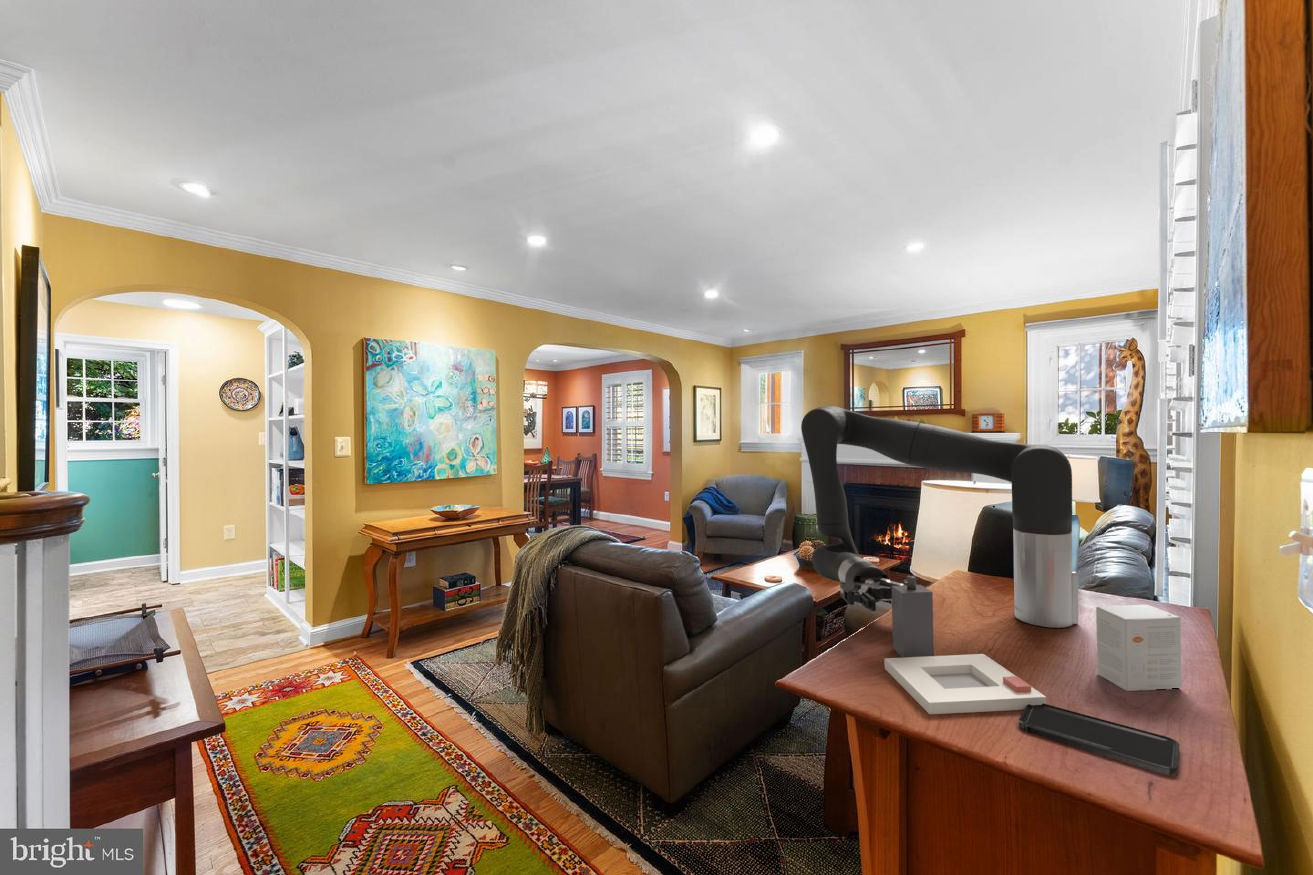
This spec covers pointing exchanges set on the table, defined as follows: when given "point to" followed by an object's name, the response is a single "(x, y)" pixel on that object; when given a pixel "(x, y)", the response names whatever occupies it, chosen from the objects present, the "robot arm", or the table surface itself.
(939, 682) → the socket plate
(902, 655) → the plug
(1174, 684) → the small box
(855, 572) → the robot arm
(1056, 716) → the phone
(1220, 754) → the table surface
